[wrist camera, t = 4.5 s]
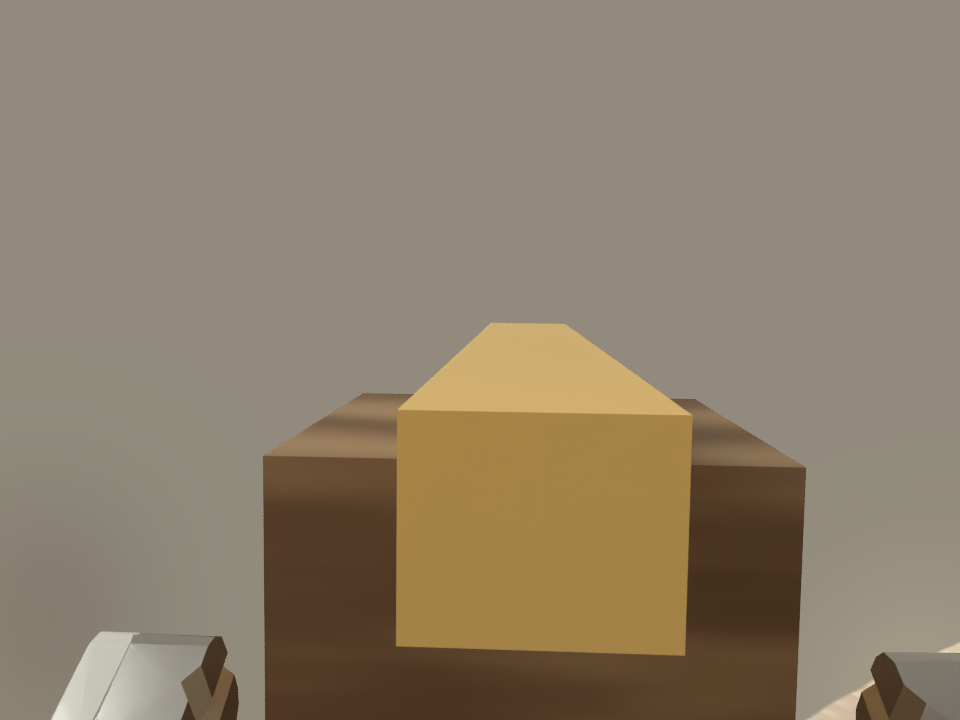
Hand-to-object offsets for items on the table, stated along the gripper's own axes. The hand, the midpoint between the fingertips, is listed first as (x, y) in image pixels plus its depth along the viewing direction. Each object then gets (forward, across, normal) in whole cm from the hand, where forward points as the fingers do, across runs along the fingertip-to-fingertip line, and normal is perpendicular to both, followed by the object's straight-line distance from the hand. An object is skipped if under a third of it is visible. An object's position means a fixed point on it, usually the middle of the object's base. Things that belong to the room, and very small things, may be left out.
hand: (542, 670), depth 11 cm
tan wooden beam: (+10, 0, +5) cm, 11 cm away
